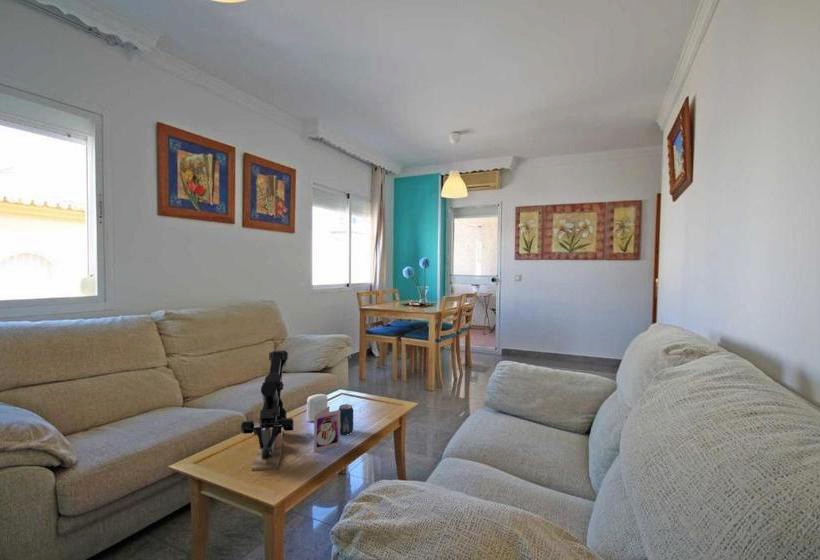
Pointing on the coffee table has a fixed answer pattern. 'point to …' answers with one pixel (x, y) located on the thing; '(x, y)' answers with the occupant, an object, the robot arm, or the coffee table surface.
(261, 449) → the grey rectangular block
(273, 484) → the coffee table surface
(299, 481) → the coffee table surface
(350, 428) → the soda can
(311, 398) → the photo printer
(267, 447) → the black handled metal tool
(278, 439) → the socket
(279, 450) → the base board
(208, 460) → the coffee table surface
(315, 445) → the greeting card
